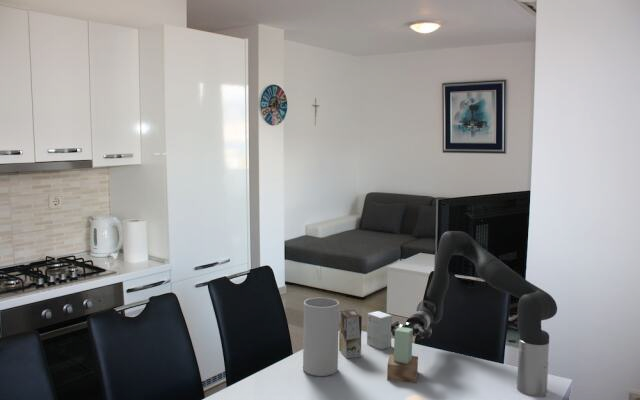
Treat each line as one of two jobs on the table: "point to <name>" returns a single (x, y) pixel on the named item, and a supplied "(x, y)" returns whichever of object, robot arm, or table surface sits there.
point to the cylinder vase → (320, 336)
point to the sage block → (403, 345)
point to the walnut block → (402, 370)
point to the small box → (379, 329)
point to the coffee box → (350, 333)
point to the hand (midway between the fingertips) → (405, 335)
